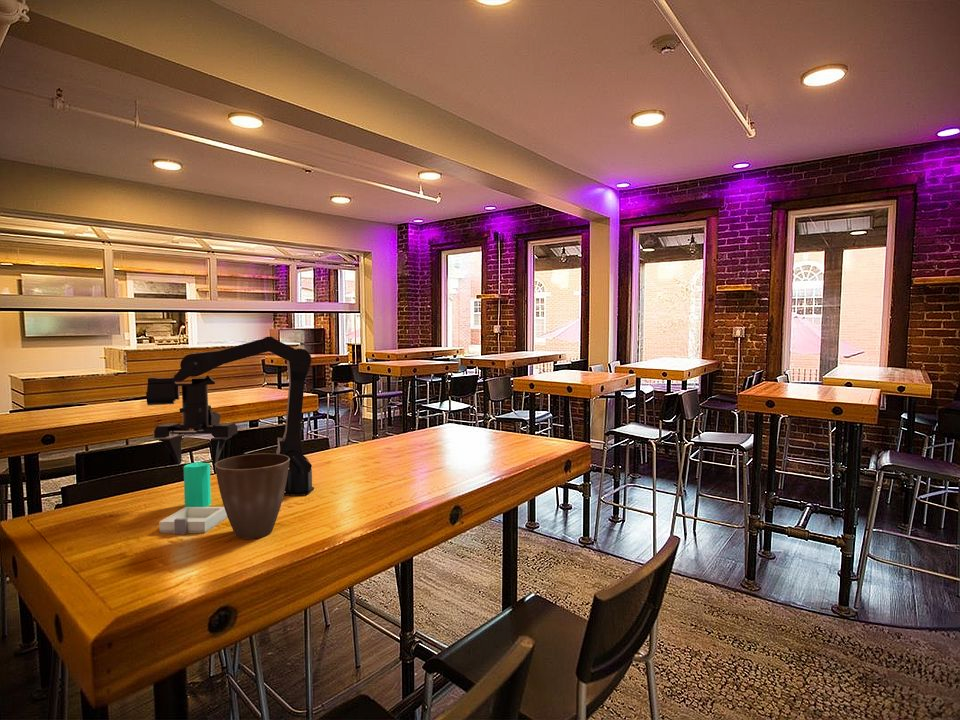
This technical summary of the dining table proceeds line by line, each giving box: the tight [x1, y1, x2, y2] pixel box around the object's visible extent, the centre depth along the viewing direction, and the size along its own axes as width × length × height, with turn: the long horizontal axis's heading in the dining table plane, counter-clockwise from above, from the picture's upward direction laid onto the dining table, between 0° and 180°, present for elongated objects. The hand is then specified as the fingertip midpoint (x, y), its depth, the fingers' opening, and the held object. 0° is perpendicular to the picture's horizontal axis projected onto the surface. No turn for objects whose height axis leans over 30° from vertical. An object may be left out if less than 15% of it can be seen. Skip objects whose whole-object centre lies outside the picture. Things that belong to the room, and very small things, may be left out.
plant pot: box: [214, 453, 290, 540], centre depth 115 cm, size 15×15×16 cm
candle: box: [183, 458, 212, 508], centre depth 134 cm, size 6×6×12 cm
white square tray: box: [158, 506, 228, 535], centre depth 120 cm, size 10×11×3 cm
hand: (197, 463), depth 134 cm, fingers open, 9 cm apart
